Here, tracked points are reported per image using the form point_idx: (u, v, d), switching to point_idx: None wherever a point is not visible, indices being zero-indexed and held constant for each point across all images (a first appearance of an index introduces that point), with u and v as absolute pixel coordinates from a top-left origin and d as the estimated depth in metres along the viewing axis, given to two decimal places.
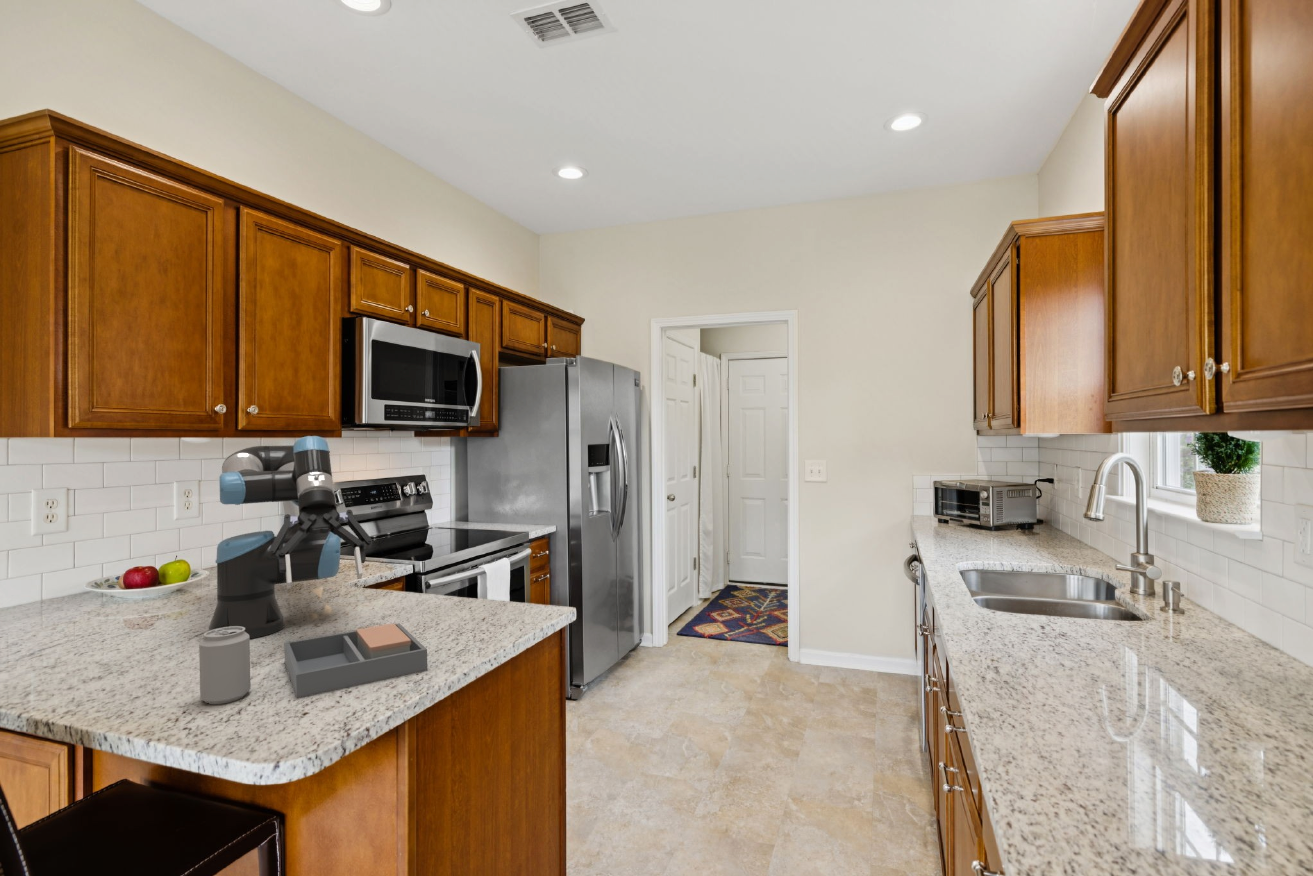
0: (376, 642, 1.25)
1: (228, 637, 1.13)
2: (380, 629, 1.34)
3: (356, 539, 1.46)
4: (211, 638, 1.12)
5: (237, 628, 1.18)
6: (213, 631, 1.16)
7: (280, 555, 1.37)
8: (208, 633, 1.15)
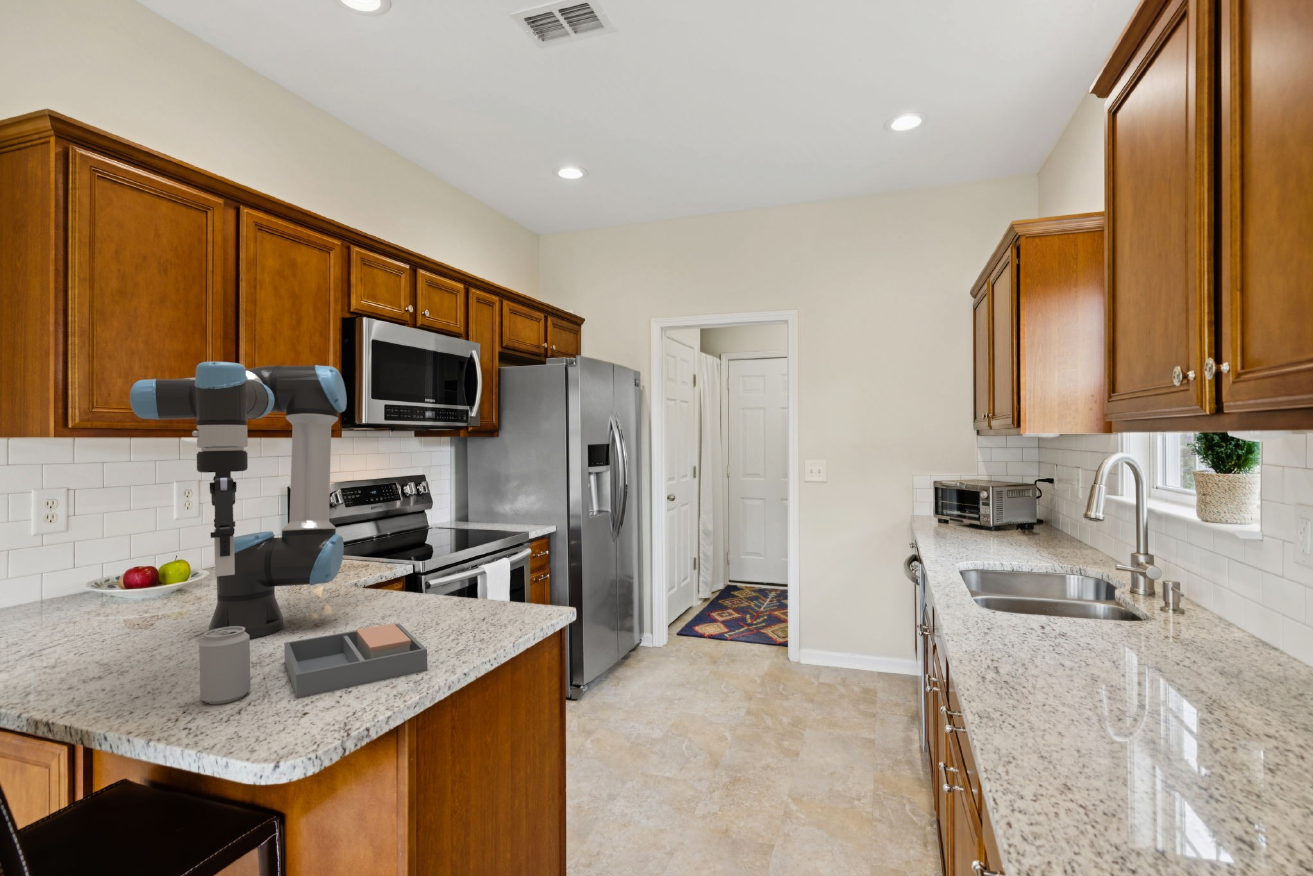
0: (376, 642, 1.25)
1: (228, 637, 1.13)
2: (380, 629, 1.34)
3: None
4: (211, 638, 1.12)
5: (237, 628, 1.18)
6: (213, 631, 1.16)
7: None
8: (208, 633, 1.15)
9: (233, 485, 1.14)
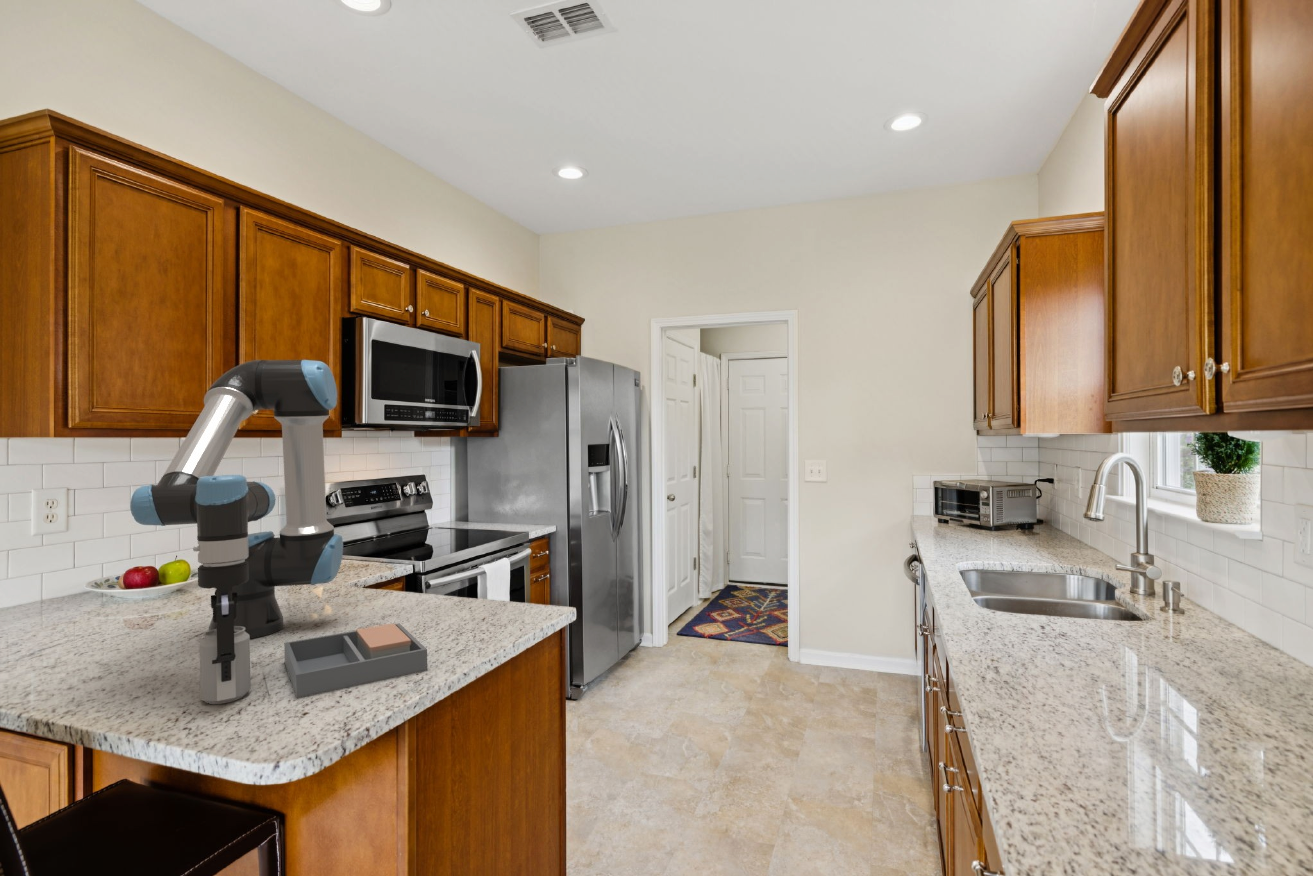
0: (376, 642, 1.25)
1: None
2: (380, 629, 1.34)
3: None
4: (211, 638, 1.12)
5: (237, 628, 1.18)
6: (213, 631, 1.16)
7: None
8: (208, 633, 1.15)
9: (234, 600, 1.14)
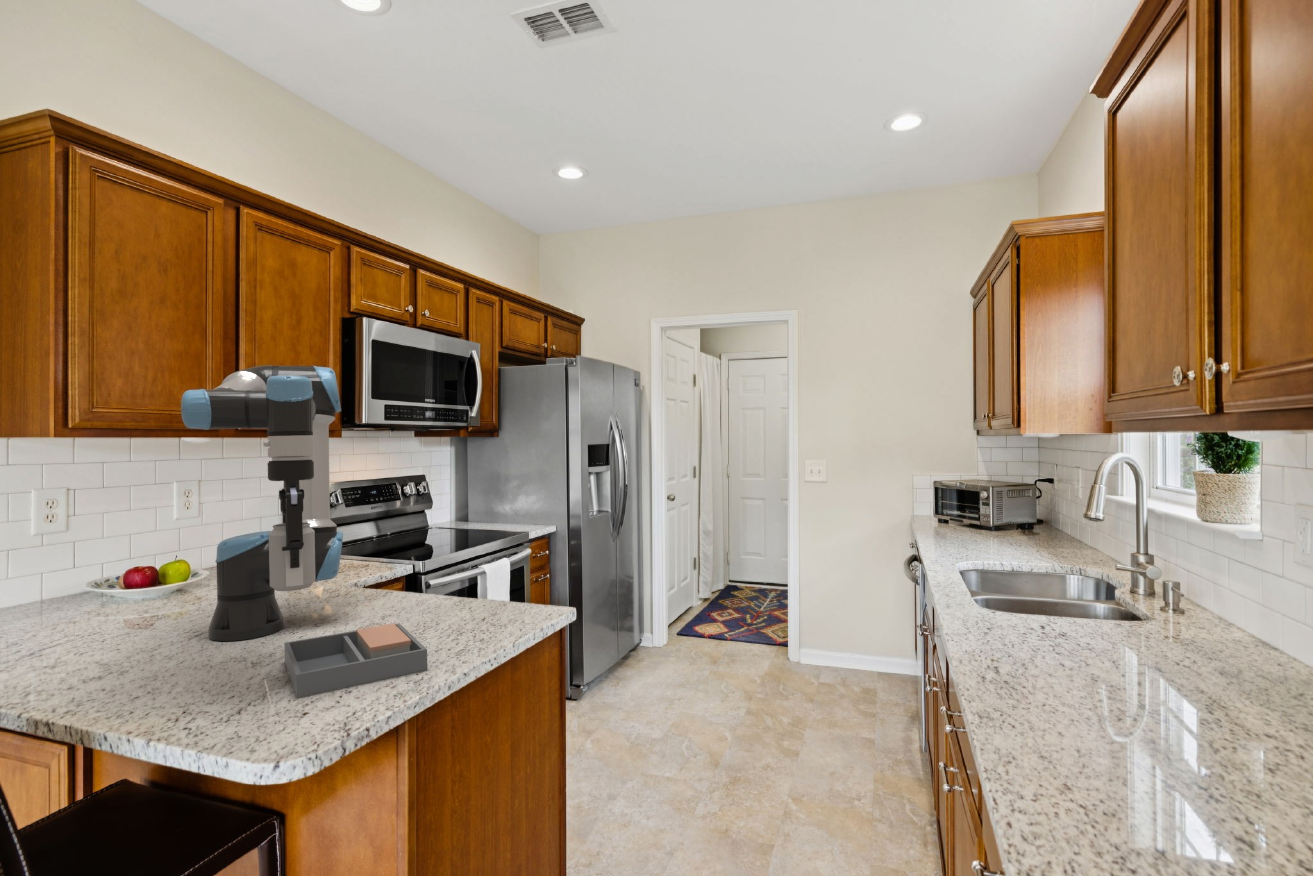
0: (376, 642, 1.25)
1: None
2: (380, 629, 1.34)
3: (286, 538, 1.17)
4: (280, 528, 1.18)
5: (302, 524, 1.24)
6: (281, 525, 1.22)
7: None
8: (276, 526, 1.21)
9: None
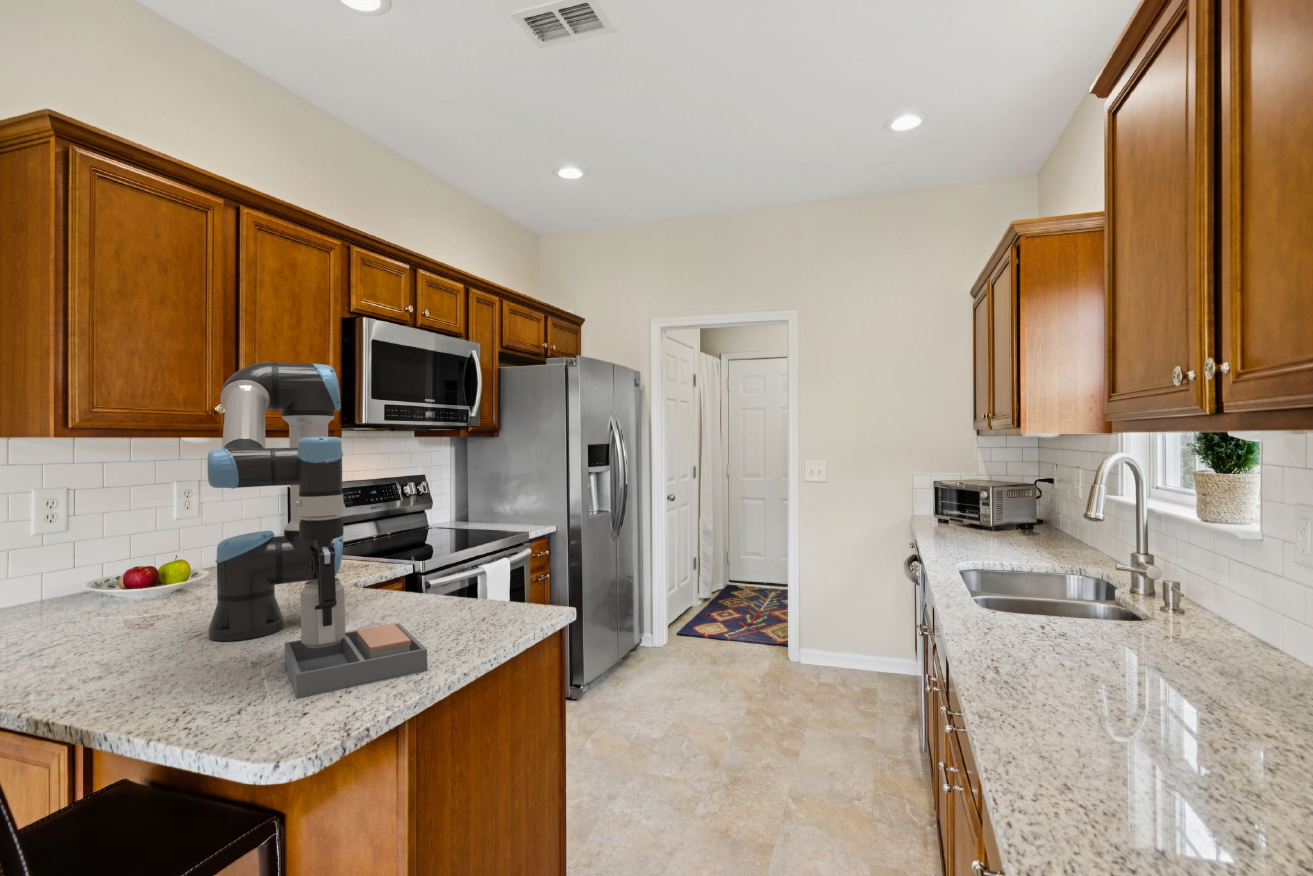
0: (376, 642, 1.25)
1: None
2: (380, 629, 1.34)
3: (319, 596, 1.20)
4: (312, 586, 1.21)
5: None
6: (311, 582, 1.25)
7: None
8: (307, 583, 1.24)
9: None
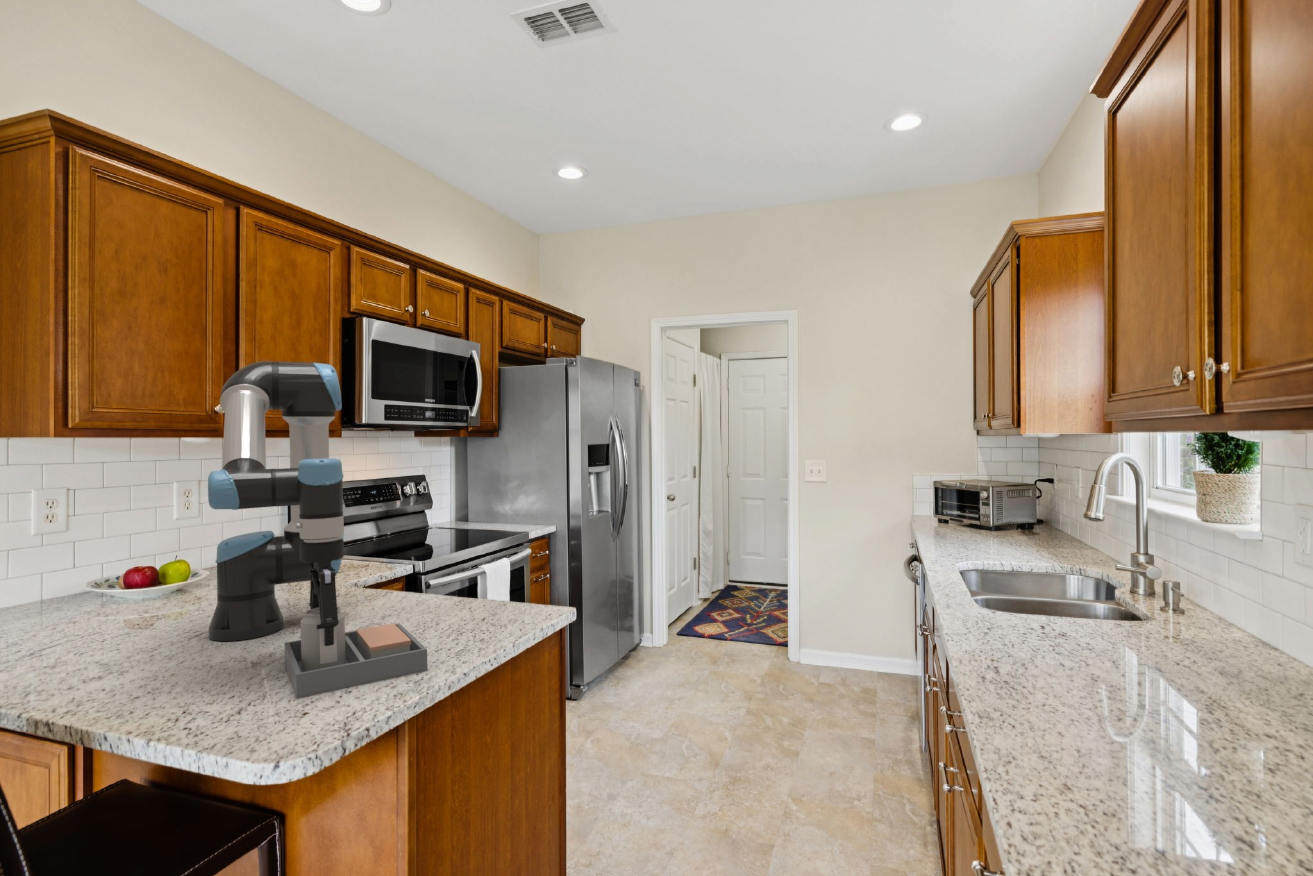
0: (376, 642, 1.25)
1: None
2: (380, 629, 1.34)
3: (320, 616, 1.18)
4: (312, 616, 1.21)
5: None
6: (311, 610, 1.25)
7: None
8: (307, 612, 1.24)
9: None
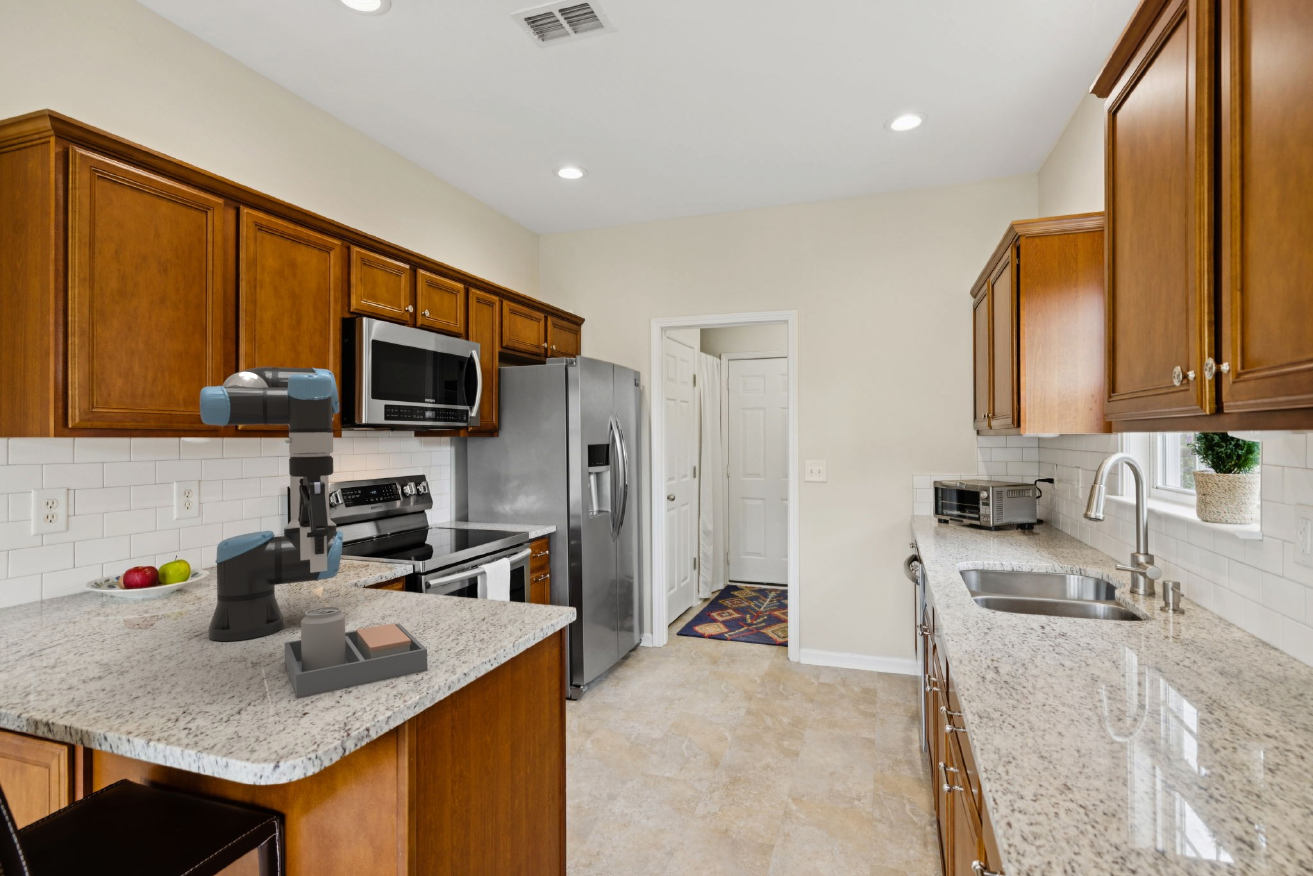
0: (376, 642, 1.25)
1: (328, 615, 1.22)
2: (380, 629, 1.34)
3: (310, 525, 1.19)
4: (313, 616, 1.21)
5: (332, 608, 1.27)
6: (311, 610, 1.25)
7: None
8: (308, 612, 1.24)
9: None
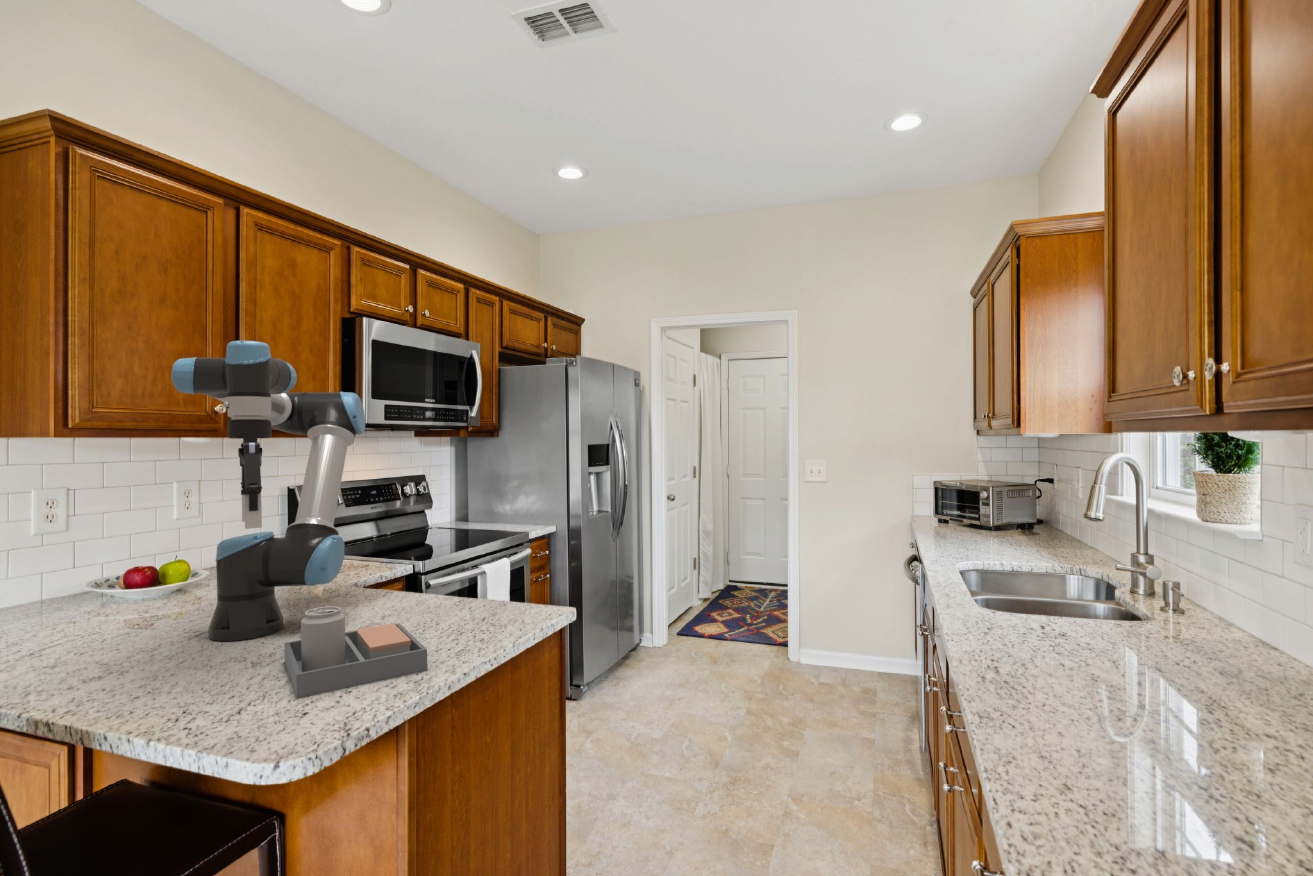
0: (376, 642, 1.25)
1: (328, 615, 1.22)
2: (380, 629, 1.34)
3: (245, 484, 1.24)
4: (313, 616, 1.21)
5: (332, 608, 1.27)
6: (311, 610, 1.25)
7: None
8: (308, 612, 1.24)
9: (259, 450, 1.29)
